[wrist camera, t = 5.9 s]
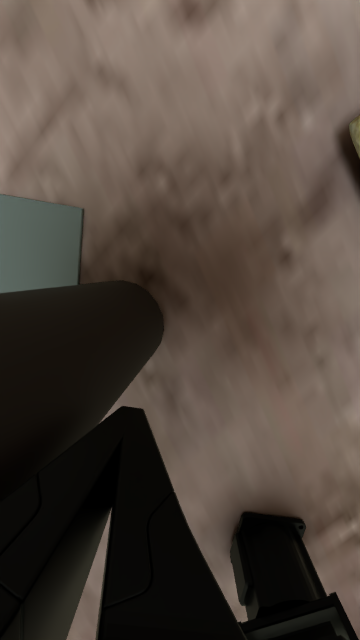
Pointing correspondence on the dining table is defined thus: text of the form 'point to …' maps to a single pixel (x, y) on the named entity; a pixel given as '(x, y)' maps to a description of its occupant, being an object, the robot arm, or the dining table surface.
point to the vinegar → (66, 366)
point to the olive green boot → (355, 133)
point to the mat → (38, 244)
